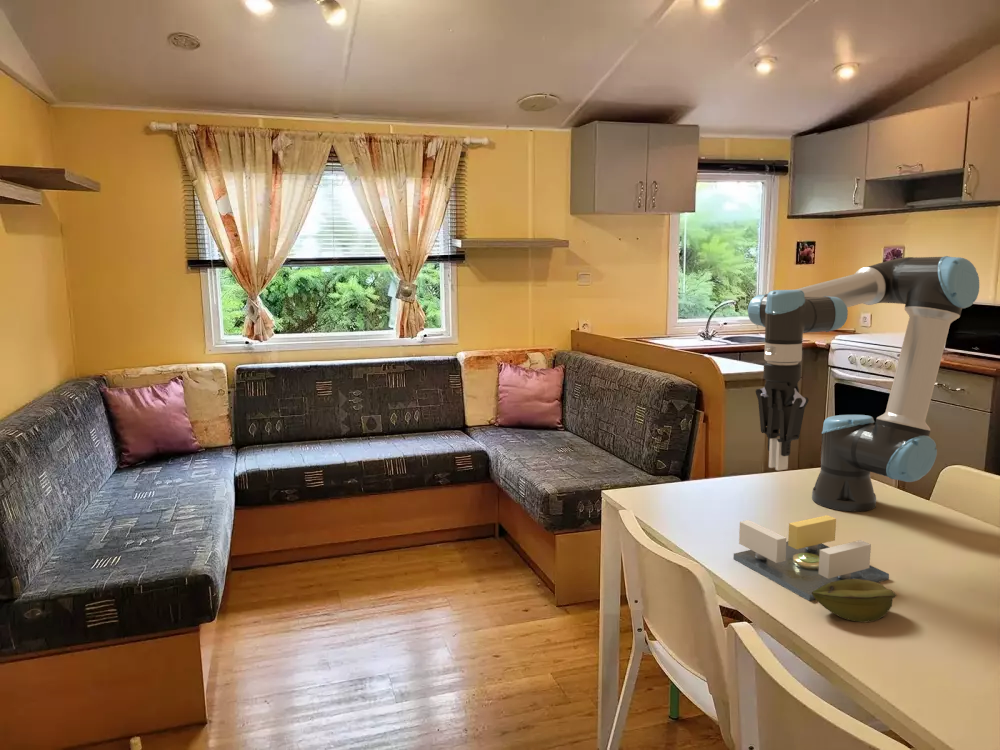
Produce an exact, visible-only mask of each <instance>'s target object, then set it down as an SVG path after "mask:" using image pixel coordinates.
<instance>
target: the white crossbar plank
mask: <svg viewBox="0 0 1000 750" xmlns="http://www.w3.org/2000/svg"><path fill="white" fill-rule="evenodd" d="M738 532H739V538H738V544H739V545H741V546H743V547H745V548H747V549H748V550H752V551H754V552H756V553H755V557H756V558H757V559H761V560H765V559H767V558H768V559H770V560H772V561H774V562H775V563H778V562H783V561H785V559H786V542H787V537H785V536H783V535H781V534H779V533H777V532H775V531H773V530H771V529H769V528H767V527H764V526H762V525H760V524H758V523H756V522H754V521H752V520H749V519H747V520H743V521H739V531H738Z"/></svg>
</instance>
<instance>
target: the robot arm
mask: <svg viewBox="0 0 1000 750" xmlns="http://www.w3.org/2000/svg"><path fill="white" fill-rule="evenodd" d="M979 276H980V275H979V273H978V272H977V268H976V266H975V265H974V264H973V263H972V262H971V261H970V260H969V259H966V258H965V257H959V256H958V257H957V256H955V257H954V256H950V255H949V256H948V255H946V256H945V255H944V256H925V257H924V256H923V257H922V256H921V257H920V256H919V257H917V256H916V257H914V256H912V257H911V256H906V257H899V258H893V259H890V260H887V261H882V262H880V263H876V264H872V265H869V266H865V267H861V268H859V269H858V270H856V271H855V273H853V274H849V275H847V276H842V277H838V278H833V279H831V280H827V281H822V282H818V283H815V284H810V285H807V286H804V287H800V288H796V289H795V288H794V289H774V290H770V291H769V292H768V293H765V294H757V295H755V296H754V297H753V298H752V299H751V300H750V301H749V303H748V307H747V316H748V318H749V319H748V320H750V322H751V323H752V324H754V325H756V326H759V327H760V326H761V327H763V328H764V356H763V358H764V360H765V361H766V362H764V364H763V379H764V381H765V383H764V386H763V387H762V388H757V389H755V394H756V398H757V400H758V401H757V402H758V416H759V425H760V426H759V427H760V432H761V433H762V434H765V435H766V437H767V451H768V453H769V454H768V468H769V469H772V468H773V469H775V471H783V470H784V471H785V470H788V468H789V456H790V454H791V446H792V445H791V443H792V442H793V441H797V440H799V439H800V436H801V435H800V434H801V430H802V424H803V420H804V413H805V409H806V407H807V405H808V404H809V398H808V397H807V396H805V397H804V396H803V395H802V394H800V389H799V382H800V381H801V378H802V364H801V363H800V362H802V360H803V358H802V357H803V337H804V334H805V333H819V332H820V333H822V332H826V333H827V332H828V333H829V332H832V331H836V330H838V329H841V328H842V327H843V326H844V325H845V323H846V322H847V319H848V314H849V313H848V312H849V311H848V308H850V307H851V308H852V307H854V306H858V305H861V304H863V305H866V306H873V305H877V304H883V303H884V304H898V305H904V311H905V312H906V313H907V315H908V317H909V318H908V323H907V326H906V330H905V335H904V338H903V342H902V345H901V350H900V353H899V357H898V362H897V365H896V370H895V374H894V377H893V382H892V386H891V388H890V389H891V390H890V393H889V396H888V401H887V404H886V409H885V412H884V413H883V414H881V415H879V416H877V417H876V419H875V420H874V417H873V416H871V415H865V414H839V415H831V416H828V417H826V418H825V419H824V421H823V426H822V431H821V451H820V454H821V455H820V457H821V458H820V471H819V474H818V477H817V478H816V481H815V483H814V486H813V487H812V493H811V499H812V501H813V502H814V503H815V504H818V505H819V506H821V507H822V506H823V507H825V508H827V509H833V510H836V511H837V510H838V511H844V512H865V511H866V512H867V511H870V510H873V509H875V507H876V506H877V495H876V493H875V490H874V487H873V482H872V478H871V473H873V474H876V475H881V476H883V477H887V478H889V479H891V480H895V481H901V482H906V483H912V482H917V481H919V480H920V479H922V478H923V477H924V476H926V475H927V474H928V473H929V472H930V471H931V469H932V468H933V466H934V464H935V461H936V459H937V456H938V449H937V444H936V442H935V440H934V439H933V438H931V437H930V434H931V428H930V426H929V425H928V424H927V422H926V420H927V416H928V412H929V408H930V404H931V401H932V397H933V394H934V393H933V392H934V388H935V385H936V380H937V377H938V373H939V368H940V365H941V361H942V357H943V355H944V350H945V347H946V343H947V338H948V334H949V329H950V326H951V324H952V323H953V322H954V321H956V320H957V319H959V318H960V317H961V315H962V310H963V309H966V308H969V307H971V306H972V305H973V304H974V302H975V303H976V301H977V299H978V296H979V293H980V277H979Z"/></svg>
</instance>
